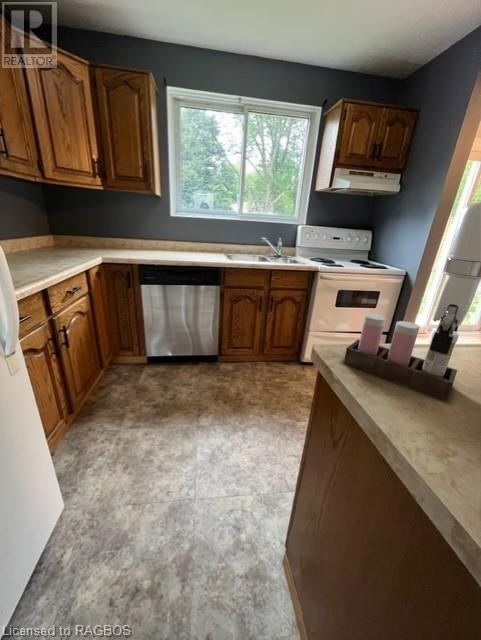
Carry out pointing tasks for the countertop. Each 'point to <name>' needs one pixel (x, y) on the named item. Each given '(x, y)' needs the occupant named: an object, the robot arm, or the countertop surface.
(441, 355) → the sprinkles bottle
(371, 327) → the pink bottle
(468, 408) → the countertop surface
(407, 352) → the pink bottle
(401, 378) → the spice rack
